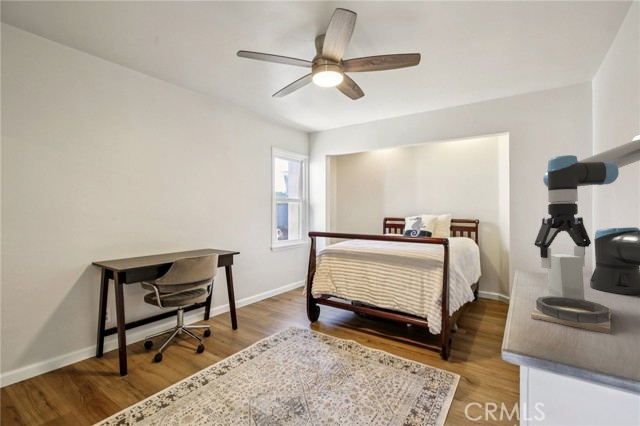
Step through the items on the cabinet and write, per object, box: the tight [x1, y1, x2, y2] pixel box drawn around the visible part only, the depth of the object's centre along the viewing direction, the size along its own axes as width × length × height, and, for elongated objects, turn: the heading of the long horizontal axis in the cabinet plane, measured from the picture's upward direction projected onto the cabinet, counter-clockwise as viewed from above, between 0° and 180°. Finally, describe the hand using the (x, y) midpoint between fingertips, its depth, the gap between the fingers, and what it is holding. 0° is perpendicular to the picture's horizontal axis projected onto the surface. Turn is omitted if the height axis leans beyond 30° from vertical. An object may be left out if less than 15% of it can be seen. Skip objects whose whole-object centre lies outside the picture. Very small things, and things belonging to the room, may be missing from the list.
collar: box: [530, 295, 612, 334], centre depth 83 cm, size 16×16×4 cm
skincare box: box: [546, 253, 586, 300], centre depth 96 cm, size 8×7×16 cm
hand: (563, 266), depth 96 cm, fingers open, 13 cm apart
